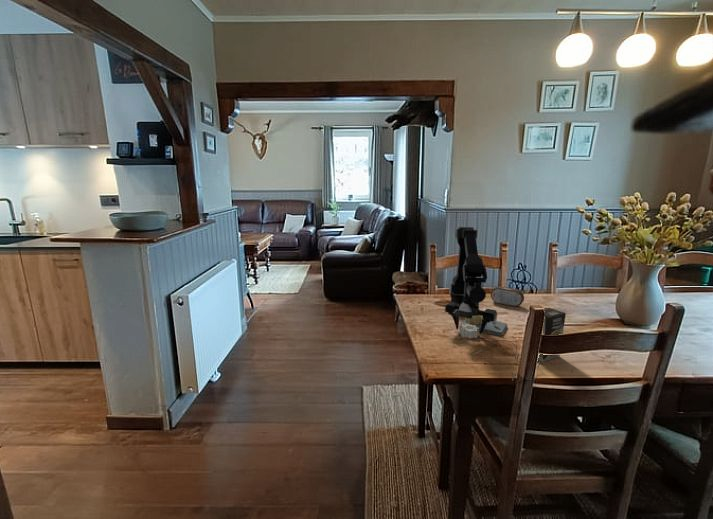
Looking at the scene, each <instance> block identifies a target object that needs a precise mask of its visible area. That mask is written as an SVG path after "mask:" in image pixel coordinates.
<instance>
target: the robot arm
mask: <svg viewBox="0 0 713 519" xmlns="http://www.w3.org/2000/svg"><path fill="white" fill-rule="evenodd" d="M454 234H455V240H456V242H457V244H458V246H459V247H458V256H457V266H456V267H457V268H456V274H455V275H454V277H453V278H452V280H451V283H450V285H449V289H448V290H449V291H448V292H449V297H450V301H449V302H448V303H447V304H446V305H445V307H444V312H445V313H447V314H448V315H450V316H451V317H452V320H453V321H454V325H455V328H456V330H459V328H460V318H468V319H471V318H472V316H477V315H481V316H483V319H482V325H481V330H480V331H479V335H482V334H483V333H484V332H483V330H484V328H485V326H486V324H487V323H490V322H491V321H494V320H495V319H496V317H498V311H497V310H496V309H490V308H485V310H481V309H480V303H482V302H483V301H484V300H485V299H486V297H487V293H486V291H485V289H484V287H483V283H487V279H488V273H487V268H486V265H485V264H484V261H483V259H482V258H481V257H480V256H479V251H478V246H477V239H478V229H475V228H474V227H473V226H458V228H457V229H455V233H454Z"/></svg>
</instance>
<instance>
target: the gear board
mask: <svg viewBox="0 0 713 519" xmlns="http://www.w3.org/2000/svg"><path fill="white" fill-rule="evenodd" d="M497 317H498V316H497ZM497 317H496V319H495V320H494V321H491V322H490V323H487V324H486V326H485V328H484V330H483V332H482V333H485V334H489V335H494V336H499V337H502V335H503V334H504V332H505V331H506V329H507V327H508V323H506V322H503V321H498V320H497V319H498V318H497ZM464 318H465V317H464ZM482 319H483V316H481V315H477V316H472V318H471V319H468V318H465V319H463V321H462V322H461V323H460V326H461V325H462V324H463V325H466V324H470V325H475V326H476V327H477V328H479V332H480V330H481V325H482Z"/></svg>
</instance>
